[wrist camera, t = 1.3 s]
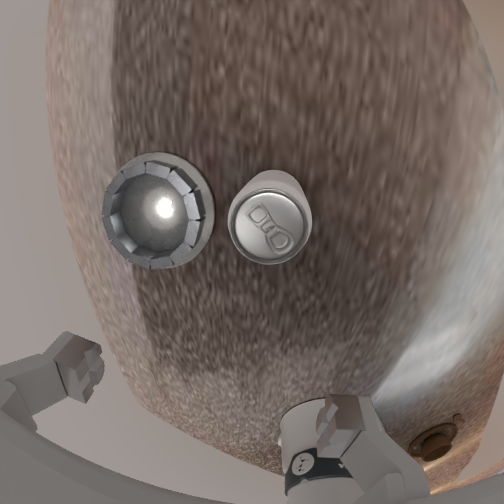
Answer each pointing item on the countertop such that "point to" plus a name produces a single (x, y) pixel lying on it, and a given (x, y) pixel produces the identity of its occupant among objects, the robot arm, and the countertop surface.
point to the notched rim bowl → (159, 211)
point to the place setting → (435, 442)
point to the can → (270, 218)
